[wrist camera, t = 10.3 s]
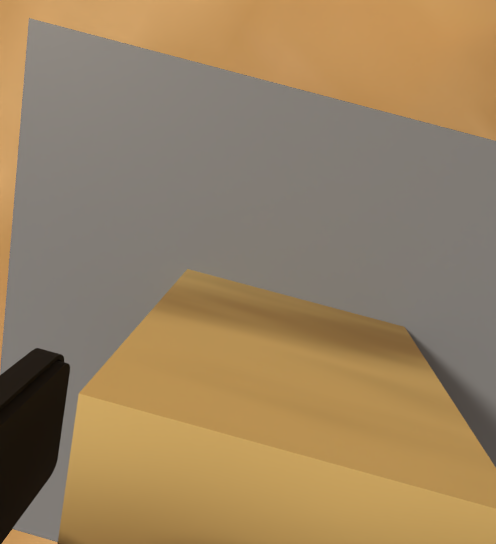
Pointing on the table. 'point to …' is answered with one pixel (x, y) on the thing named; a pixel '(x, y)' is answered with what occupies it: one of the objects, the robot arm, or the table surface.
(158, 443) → the mustard block
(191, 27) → the table surface
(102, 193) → the plate
